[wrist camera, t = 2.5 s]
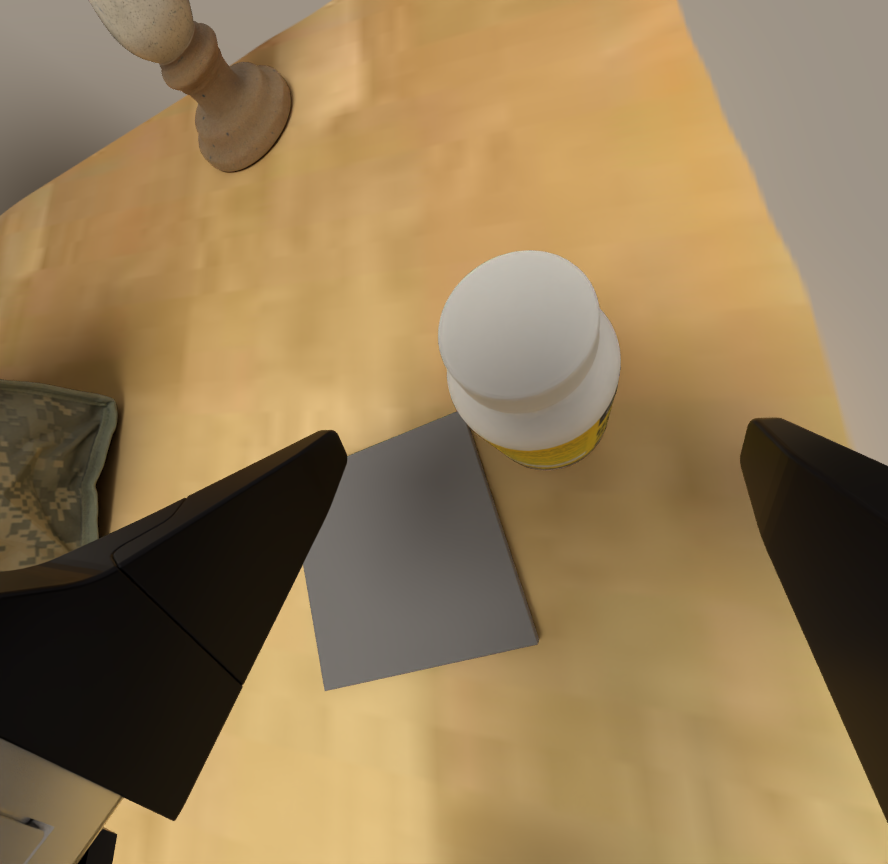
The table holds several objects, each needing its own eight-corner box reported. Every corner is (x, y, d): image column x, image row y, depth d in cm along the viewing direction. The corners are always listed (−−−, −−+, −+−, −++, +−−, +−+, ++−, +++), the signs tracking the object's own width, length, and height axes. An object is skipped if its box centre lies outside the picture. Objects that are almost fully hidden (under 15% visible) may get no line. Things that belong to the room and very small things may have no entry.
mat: (539, 639, 17) (537, 644, 16) (332, 685, 19) (324, 691, 19) (464, 412, 20) (461, 409, 19) (296, 480, 23) (288, 480, 22)
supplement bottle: (618, 463, 17) (657, 411, 8) (498, 477, 19) (415, 448, 10) (597, 350, 18) (609, 192, 9) (486, 373, 20) (403, 259, 11)
